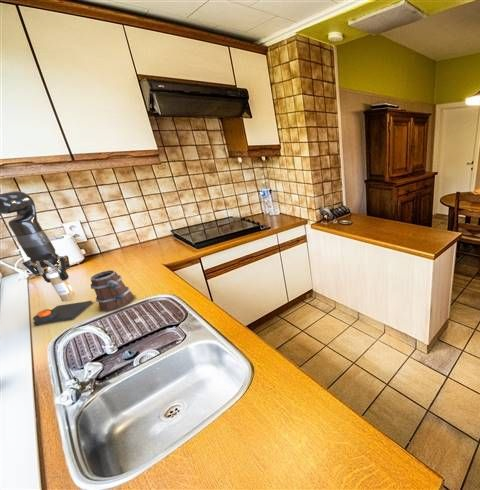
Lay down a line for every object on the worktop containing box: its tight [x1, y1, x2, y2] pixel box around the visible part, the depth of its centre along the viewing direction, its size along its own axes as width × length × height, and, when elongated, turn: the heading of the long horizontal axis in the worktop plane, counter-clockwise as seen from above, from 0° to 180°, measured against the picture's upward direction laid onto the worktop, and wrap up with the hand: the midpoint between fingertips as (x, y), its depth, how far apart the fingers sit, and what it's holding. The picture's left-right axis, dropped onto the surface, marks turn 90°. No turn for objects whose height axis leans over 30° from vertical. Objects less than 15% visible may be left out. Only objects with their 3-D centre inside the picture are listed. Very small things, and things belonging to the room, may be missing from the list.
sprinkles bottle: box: [46, 269, 77, 302], centre depth 112 cm, size 5×5×14 cm
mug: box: [90, 270, 135, 312], centre depth 116 cm, size 16×12×15 cm
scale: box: [32, 300, 93, 326], centre depth 114 cm, size 14×12×3 cm
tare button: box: [36, 308, 52, 318], centre depth 109 cm, size 4×4×2 cm
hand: (58, 280), depth 111 cm, fingers closed on sprinkles bottle, 4 cm apart
